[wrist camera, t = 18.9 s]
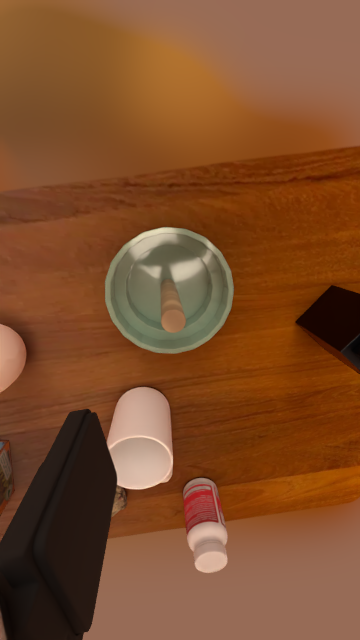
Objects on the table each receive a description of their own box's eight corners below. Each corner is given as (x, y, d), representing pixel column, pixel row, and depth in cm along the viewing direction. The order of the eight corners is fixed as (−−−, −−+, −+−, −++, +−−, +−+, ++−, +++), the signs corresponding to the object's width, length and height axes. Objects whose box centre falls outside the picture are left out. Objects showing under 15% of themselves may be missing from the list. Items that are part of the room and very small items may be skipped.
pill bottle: (175, 491, 47) (180, 566, 36) (198, 470, 46) (210, 542, 35) (200, 506, 48) (211, 582, 38) (223, 486, 47) (241, 559, 37)
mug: (190, 430, 43) (199, 489, 33) (146, 452, 43) (143, 516, 34) (152, 375, 39) (150, 424, 29) (105, 400, 40) (87, 456, 30)
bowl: (160, 202, 31) (160, 196, 26) (242, 278, 35) (259, 287, 29) (92, 292, 34) (78, 304, 28) (175, 353, 38) (177, 374, 32)
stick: (167, 275, 34) (171, 304, 20) (178, 285, 34) (191, 319, 21) (157, 287, 34) (155, 323, 21) (169, 296, 35) (175, 337, 21)
